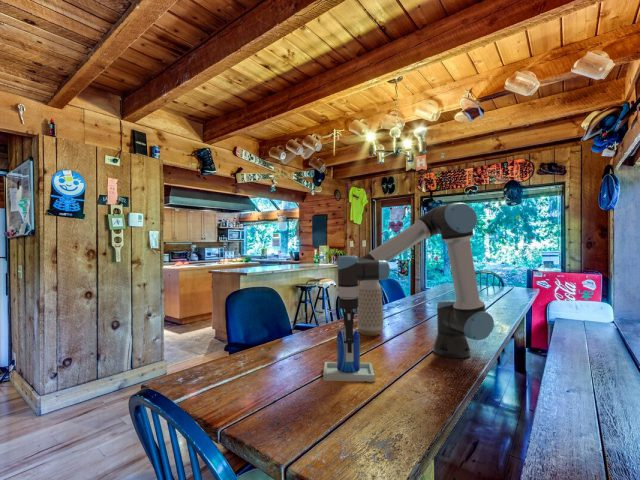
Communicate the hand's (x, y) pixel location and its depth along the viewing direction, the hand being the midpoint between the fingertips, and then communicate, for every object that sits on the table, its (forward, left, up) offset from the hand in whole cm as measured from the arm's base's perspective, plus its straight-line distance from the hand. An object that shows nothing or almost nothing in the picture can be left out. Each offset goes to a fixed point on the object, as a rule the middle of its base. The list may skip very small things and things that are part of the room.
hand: (349, 354), depth 124 cm
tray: (0, 0, -7) cm, 7 cm away
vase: (-13, -55, -7) cm, 57 cm away
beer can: (0, 0, -7) cm, 7 cm away
